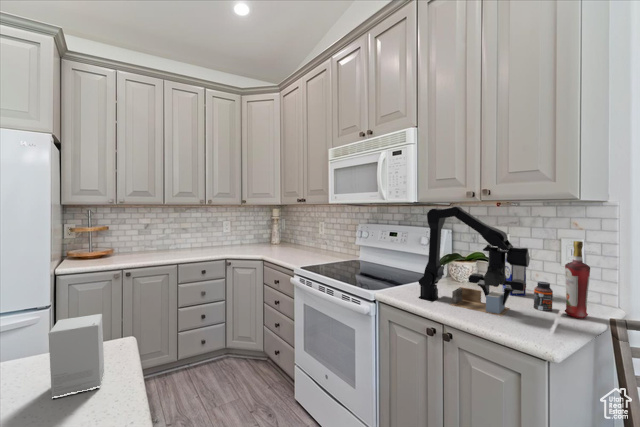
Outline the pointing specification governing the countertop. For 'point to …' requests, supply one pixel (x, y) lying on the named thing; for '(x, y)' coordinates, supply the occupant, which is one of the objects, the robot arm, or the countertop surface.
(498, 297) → the grey rectangular block
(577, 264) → the liquor
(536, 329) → the countertop surface
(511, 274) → the milk carton
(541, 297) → the supplement bottle
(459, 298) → the shelf
